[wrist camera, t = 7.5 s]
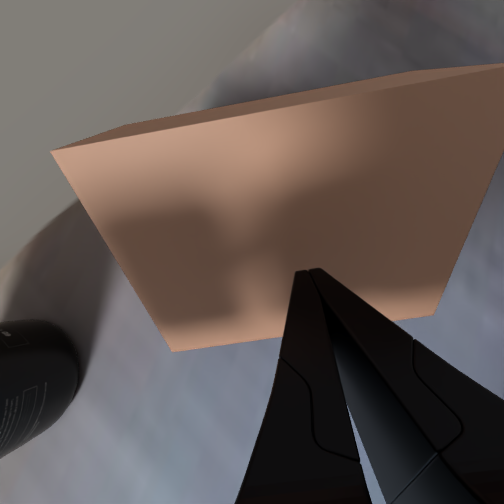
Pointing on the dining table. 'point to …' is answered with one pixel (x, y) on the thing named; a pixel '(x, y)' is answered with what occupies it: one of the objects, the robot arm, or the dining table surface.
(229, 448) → the dining table surface
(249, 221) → the terracotta block
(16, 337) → the supplement bottle
